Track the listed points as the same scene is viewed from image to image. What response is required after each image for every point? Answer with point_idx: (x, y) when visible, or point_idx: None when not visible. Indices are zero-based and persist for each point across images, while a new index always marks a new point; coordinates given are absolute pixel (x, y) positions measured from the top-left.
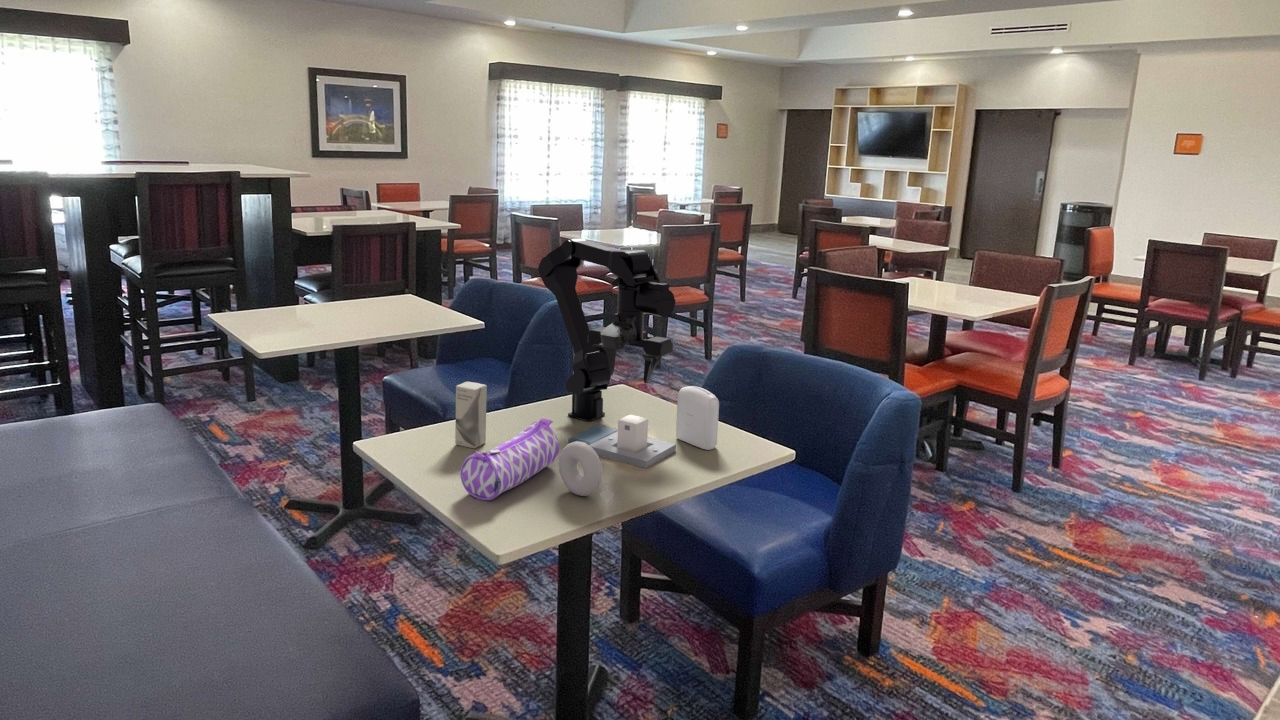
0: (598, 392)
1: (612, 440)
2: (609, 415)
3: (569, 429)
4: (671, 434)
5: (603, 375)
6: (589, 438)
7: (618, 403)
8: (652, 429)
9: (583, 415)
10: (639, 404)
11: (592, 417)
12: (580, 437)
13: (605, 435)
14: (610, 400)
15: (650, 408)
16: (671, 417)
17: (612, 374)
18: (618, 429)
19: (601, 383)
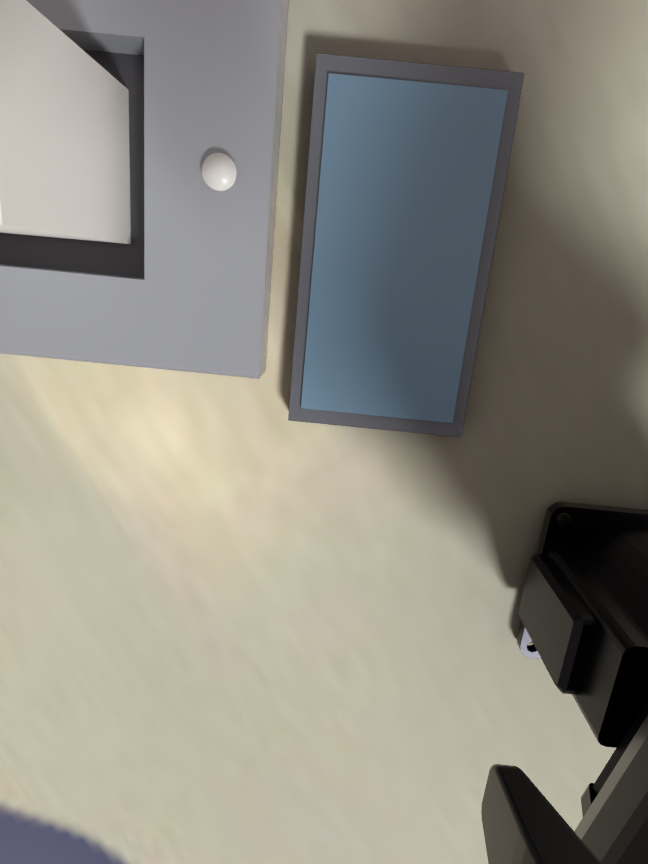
0: (610, 704)
1: (195, 157)
2: (492, 653)
3: (609, 316)
4: (49, 559)
5: (643, 844)
6: (381, 153)
7: None
8: (175, 576)
9: (615, 530)
10: (426, 859)
11: (554, 546)
12: (447, 134)
13: (316, 274)
14: None
15: (348, 835)
16: (190, 774)
17: (483, 811)
18: (35, 14)
19: (619, 762)
